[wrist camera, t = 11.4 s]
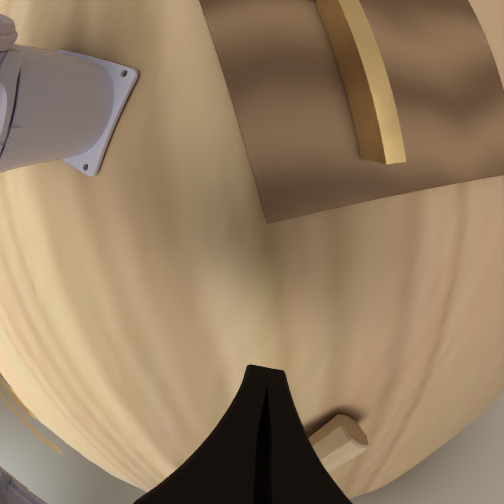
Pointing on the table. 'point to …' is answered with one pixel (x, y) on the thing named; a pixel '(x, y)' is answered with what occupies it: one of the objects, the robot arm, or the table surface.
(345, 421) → the hammer
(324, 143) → the walnut board
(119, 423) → the table surface
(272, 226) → the table surface
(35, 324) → the table surface
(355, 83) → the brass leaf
